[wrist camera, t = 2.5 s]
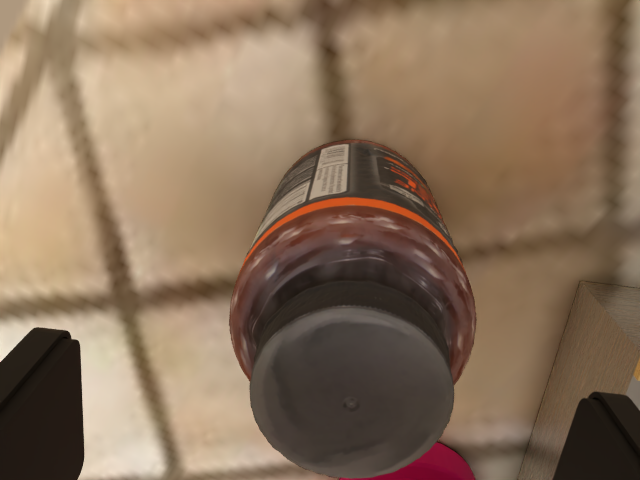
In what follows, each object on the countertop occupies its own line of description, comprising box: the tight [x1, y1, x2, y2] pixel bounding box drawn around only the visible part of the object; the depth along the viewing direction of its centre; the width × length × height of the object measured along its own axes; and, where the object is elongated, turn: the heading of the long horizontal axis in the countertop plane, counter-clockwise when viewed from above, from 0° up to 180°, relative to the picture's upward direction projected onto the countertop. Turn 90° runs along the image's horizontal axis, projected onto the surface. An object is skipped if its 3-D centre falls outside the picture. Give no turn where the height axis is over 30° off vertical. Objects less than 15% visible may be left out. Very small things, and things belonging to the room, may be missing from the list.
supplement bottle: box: [229, 140, 476, 479], centre depth 16 cm, size 6×6×11 cm
